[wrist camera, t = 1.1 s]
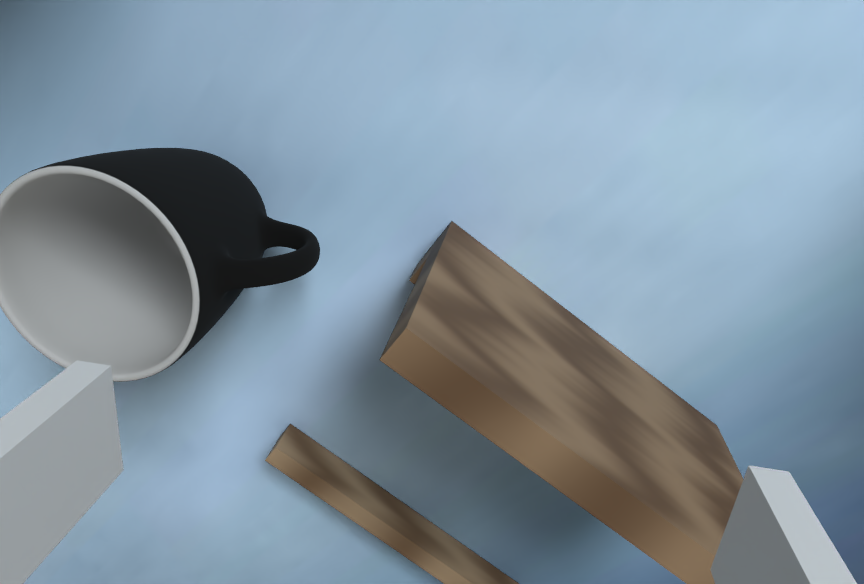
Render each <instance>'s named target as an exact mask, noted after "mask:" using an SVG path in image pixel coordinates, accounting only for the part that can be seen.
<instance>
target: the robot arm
mask: <svg viewBox="0 0 864 584" xmlns="http://www.w3.org/2000/svg"><path fill="white" fill-rule="evenodd" d="M122 471H123V461H122V453H121V444H120V436H119V428H118V419H117V411H116V402H115V394H114V385H113V377H112V368H111V366H110V365H104V364H97V363H91V362H85V361H78V360H77V361H75V362H74V363H73V364H71V365H70V366H69V367H67V368H66V369H65V370H63V371H62V372H61V373H60V374H58V375H57V376H56V377H54V378H53V379H52V380H50V381H49V382H48V383H46V384H45V385H44V386H42V387H41V388H40V389H38V390H37V391H36V392H35V393H33V394H32V395H31V396H29V397H28V398H27V399H25V400H24V401H23V402H21V403H20V404H19V405H17V406H16V407H15V408H13V409H12V410H11V411H10V412H8V413H7V414H6V415H4V416H3V417H2V418H0V584H23V583H24V582H25V581H26V580H27V579H28V577H29V576H30V575H31V574H32V573H33V572H34V571H35V570H36V568H37V567H38V566H39V565H40V564H41V563H42V562H43V561H44V559H45V558H46V557H47V556H48V555H49V554H50V553H51V552H52V550H53V549H54V548H55V547H56V546H57V545H58V544H59V543H60V541H61V540H62V539H63V538H64V537H65V536H66V535H67V533H68V532H69V531H70V530H71V529H72V528H73V527H74V526H75V524H76V523H77V522H78V521H79V520H80V519H81V518H82V517H83V515H84V514H85V513H86V512H87V511H88V510H89V509H90V508H91V506H92V505H93V504H94V503H95V502H96V501H97V500H98V499H99V497H100V496H101V495H102V494H103V493H104V492H105V491H106V489H107V488H108V487H109V486H110V485H111V484H112V483H113V482H114V480H115V479H116V478H117V477H118V476H119V475H120V474H121V473H122ZM710 570H711V573H712V576H713V579H714V582H715V584H857V583H856V581H855V580H854V578H853V577H852V575H851V573H850V572H849V570H848V568H847V567H846V565H845V563H844V562H843V560H842V558H841V557H840V555H839V553H838V552H837V550H836V548H835V547H834V545H833V543H832V542H831V540H830V539H829V537H828V535H827V534H826V532H825V530H824V529H823V527H822V525H821V524H820V522H819V520H818V519H817V517H816V515H815V514H814V512H813V510H812V509H811V507H810V505H809V504H808V502H807V500H806V499H805V497H804V496H803V494H802V492H801V491H800V489H799V487H798V486H797V484H796V482H795V481H794V479H793V477H792V476H791V474H790V472H788V471H781V470H775V469H768V468H762V467H756V466H748V469H747V471H746V474H745V477H744V480H743V482H742V485H741V488H740V490H739V493H738V496H737V499H736V501H735V504H734V507H733V509H732V512H731V515H730V517H729V520H728V523H727V526H726V528H725V531H724V534H723V536H722V539H721V542H720V545H719V547H718V550H717V553H716V555H715V558H714V561H713V563H712V566H711V569H710Z"/></svg>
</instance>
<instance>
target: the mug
mask: <svg viewBox="0 0 864 584" xmlns="http://www.w3.org/2000/svg"><path fill="white" fill-rule="evenodd" d="M277 246H282V247H289V248H292V249H296V251H293V252H290V253H287V254H283V255H279V256H274V257H267V258H262V256H263V253H264V251H265V250H266V249H267V248H271V247H277ZM319 255H320V247H319V243H318V240H317V238H316V237H315V235H314V234H313V233H312V232H310V231H309V230H307V229H305V228H302V227H299V226H296V225H292V224H288V223H283V222H279V221H276V220H273V219H271V218H269V217H268V216H267V214H266V210H265V206H264V203H263V201H262V198H261V196H260V194H259V192H258V191H257V189H256V187H255V186H254V185H253V183H252V182H251V181H250V179H249V178H248V177H247V176H246V175H245V174H244V173H243V172H242V171H241V170H239V169H238V168H237V167H236V166H234V165H233V164H231V163H230V162H228V161H226V160H224V159H222V158H220V157H218V156H216V155H213V154H210V153H207V152H203V151H198V150H192V149H182V148H148V149H136V150H126V151H117V152H110V153H103V154H96V155H91V156H85V157H80V158H75V159H71V160H66V161H62V162H57V163H54V164H50V165H47V166H44V167H41V168H38V169H35V170H32V171H30V172H28V173H26V174H24V175H23V176H21V177H19V178H18V179H16V180H15V181H13V182H12V183H11V184H10V185H9V186H8V187H6V188H5V190H4V191H3V192H2V193H1V194H0V306H1V308H2V310H3V312H4V313H5V315H6V316H7V318H8V319H9V321H10V322H11V323H12V324H13V326H14V327H15V328H16V330H17V331H18V332H19V333H20V334H21V335H22V336H23V337H24V338H25V339H26V340H27V341H28V342H29V343H30V344H31V345H32V346H33V347H34V348H36V349H37V350H38V351H39V352H40V353H42V354H43V355H45V356H46V357H47V358H49V359H50V360H52V361H54V362H55V363H57V364H59V365H61V366H62V367H64V368H67V367H69V366H70V365H71V364H73V363H74V362H75V361H77V360H78V361H85V362H91V363H97V364H104V365H110V366H111V368H112V377H113V381H117V382H120V381H133V380H139V379H143V378H147V377H150V376H152V375H155V374H157V373H159V372H161V371H163V370H165V369H166V368H168V367H169V366H171V365H172V364H174V363H175V362H176V361H178V360H179V359H180V358H181V357H182V356H183V355H185V354H186V353H187V352H188V351H189V350H190V349H191V348H192V347H194V346H195V345H196V344H197V343H198V342H199V341H200V340H201V338H202V337H203V336H204V335H205V334H206V333H207V332H208V331H209V330H210V329H211V328H212V327H213V326H214V325H215V324H216V322H217V321H218V320H219V319H220V318H221V317H222V316H223V314H224V313H225V312H226V311H227V310H228V309H229V307H230V306H231V305H232V304H233V302H234V301H235V300H236V299H237V297H238V296H239V295H240V293H241V292H242V290H243V289H244V288H251V287H260V286H267V285H273V284H278V283H282V282H286V281H290V280H293V279H295V278H298V277H300V276H302V275H304V274H306V273H308V272H309V271H311V270H312V269H313V268H314V266H315V265H316V264H317V262H318V259H319Z"/></svg>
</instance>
